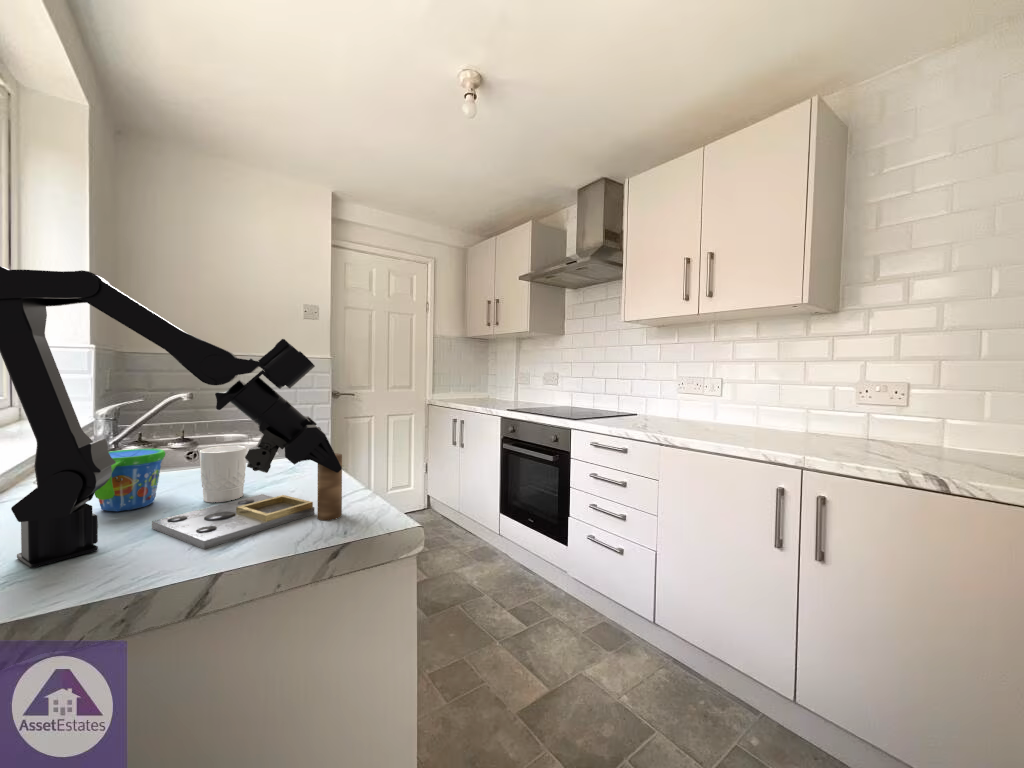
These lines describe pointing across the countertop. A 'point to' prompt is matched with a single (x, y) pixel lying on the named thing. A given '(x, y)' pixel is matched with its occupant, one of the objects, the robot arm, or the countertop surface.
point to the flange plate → (233, 519)
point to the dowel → (329, 492)
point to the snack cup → (131, 479)
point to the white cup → (223, 472)
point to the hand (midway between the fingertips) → (338, 468)
